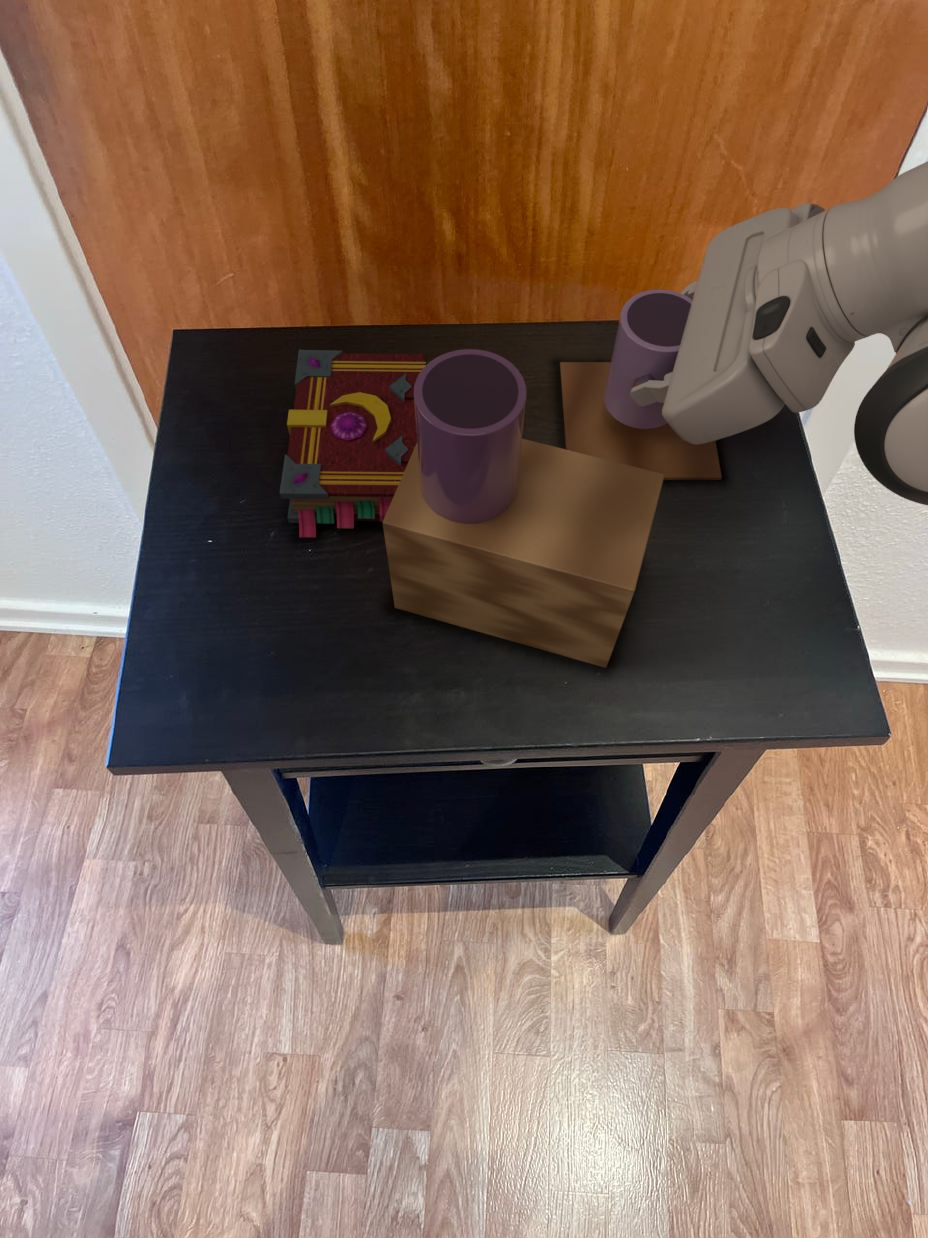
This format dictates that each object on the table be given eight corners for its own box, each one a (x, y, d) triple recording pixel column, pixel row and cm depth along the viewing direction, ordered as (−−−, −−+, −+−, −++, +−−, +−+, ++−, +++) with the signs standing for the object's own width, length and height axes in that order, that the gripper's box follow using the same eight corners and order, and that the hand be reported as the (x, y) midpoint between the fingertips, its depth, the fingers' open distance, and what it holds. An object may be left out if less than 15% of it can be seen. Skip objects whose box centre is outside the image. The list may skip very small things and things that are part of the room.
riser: (633, 564, 69) (665, 473, 59) (606, 668, 65) (634, 591, 54) (433, 511, 71) (428, 414, 61) (394, 608, 67) (382, 522, 57)
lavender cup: (695, 400, 74) (724, 319, 66) (646, 442, 72) (669, 364, 64) (637, 358, 76) (658, 275, 68) (587, 398, 74) (602, 318, 66)
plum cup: (537, 483, 58) (550, 390, 50) (469, 541, 56) (470, 454, 48) (468, 428, 60) (469, 331, 52) (399, 483, 58) (390, 389, 50)
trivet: (701, 365, 79) (702, 361, 79) (720, 480, 73) (721, 477, 73) (559, 364, 79) (560, 361, 79) (567, 480, 73) (568, 477, 73)
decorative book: (431, 387, 78) (429, 346, 73) (425, 538, 70) (423, 503, 66) (305, 386, 78) (296, 345, 73) (286, 537, 70) (275, 501, 66)
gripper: (809, 161, 63) (651, 245, 73) (767, 362, 54) (593, 427, 64) (846, 226, 66) (691, 298, 76) (812, 426, 57) (641, 478, 67)
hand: (646, 358), depth 70 cm, fingers closed on lavender cup, 6 cm apart
